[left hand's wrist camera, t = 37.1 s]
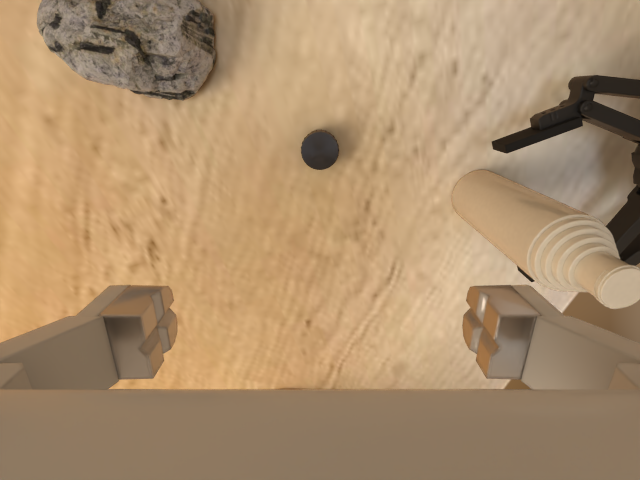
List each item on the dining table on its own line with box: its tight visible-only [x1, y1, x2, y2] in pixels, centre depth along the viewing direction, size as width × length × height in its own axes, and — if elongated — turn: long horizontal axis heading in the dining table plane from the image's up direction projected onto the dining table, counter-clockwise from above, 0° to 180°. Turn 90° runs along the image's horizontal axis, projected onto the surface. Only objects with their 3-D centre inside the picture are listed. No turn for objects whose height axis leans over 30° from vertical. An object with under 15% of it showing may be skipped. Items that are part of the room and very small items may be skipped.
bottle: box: [452, 170, 640, 309], centre depth 32 cm, size 6×6×22 cm
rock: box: [37, 0, 216, 100], centre depth 33 cm, size 15×10×7 cm
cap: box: [301, 130, 339, 170], centre depth 39 cm, size 4×4×2 cm
